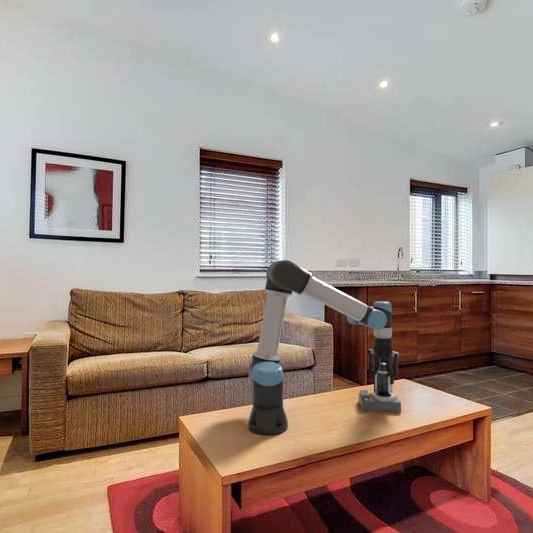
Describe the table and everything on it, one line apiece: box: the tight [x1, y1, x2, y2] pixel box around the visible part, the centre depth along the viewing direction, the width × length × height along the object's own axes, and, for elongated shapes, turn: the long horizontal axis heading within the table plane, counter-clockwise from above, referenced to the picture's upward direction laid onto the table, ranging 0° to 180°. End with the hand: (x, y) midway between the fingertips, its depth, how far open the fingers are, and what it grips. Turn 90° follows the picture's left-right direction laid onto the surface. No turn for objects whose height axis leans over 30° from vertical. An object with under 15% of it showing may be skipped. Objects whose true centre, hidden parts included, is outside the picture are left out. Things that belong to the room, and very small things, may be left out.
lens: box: [377, 363, 390, 397], centre depth 164 cm, size 5×5×14 cm
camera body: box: [358, 389, 402, 413], centre depth 164 cm, size 16×11×6 cm
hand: (383, 390), depth 164 cm, fingers closed on lens, 5 cm apart
